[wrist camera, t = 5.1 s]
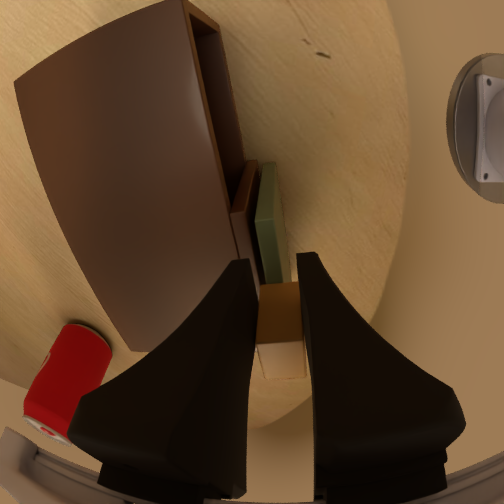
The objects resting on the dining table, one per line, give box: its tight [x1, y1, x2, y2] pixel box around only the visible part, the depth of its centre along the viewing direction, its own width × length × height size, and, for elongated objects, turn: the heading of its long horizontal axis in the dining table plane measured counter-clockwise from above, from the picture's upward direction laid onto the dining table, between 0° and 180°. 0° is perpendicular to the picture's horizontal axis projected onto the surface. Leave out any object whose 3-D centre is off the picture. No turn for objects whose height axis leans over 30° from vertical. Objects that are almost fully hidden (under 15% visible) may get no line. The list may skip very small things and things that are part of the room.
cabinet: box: [14, 0, 266, 352], centre depth 14 cm, size 9×16×7 cm, turn 10°
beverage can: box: [23, 324, 112, 446], centre depth 22 cm, size 6×6×12 cm
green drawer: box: [255, 162, 307, 380], centre depth 14 cm, size 2×8×10 cm, turn 10°
